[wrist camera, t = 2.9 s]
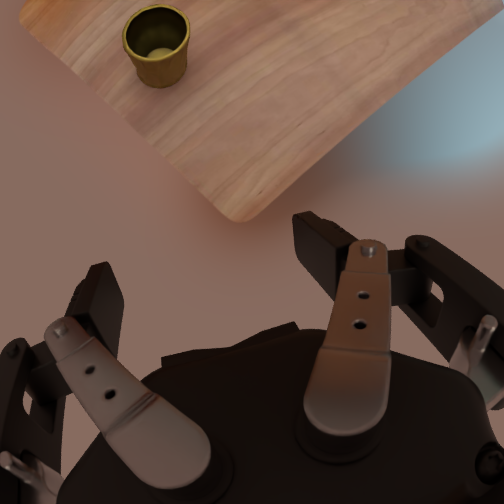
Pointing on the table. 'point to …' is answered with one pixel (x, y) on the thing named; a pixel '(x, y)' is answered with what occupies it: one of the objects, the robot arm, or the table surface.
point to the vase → (158, 44)
